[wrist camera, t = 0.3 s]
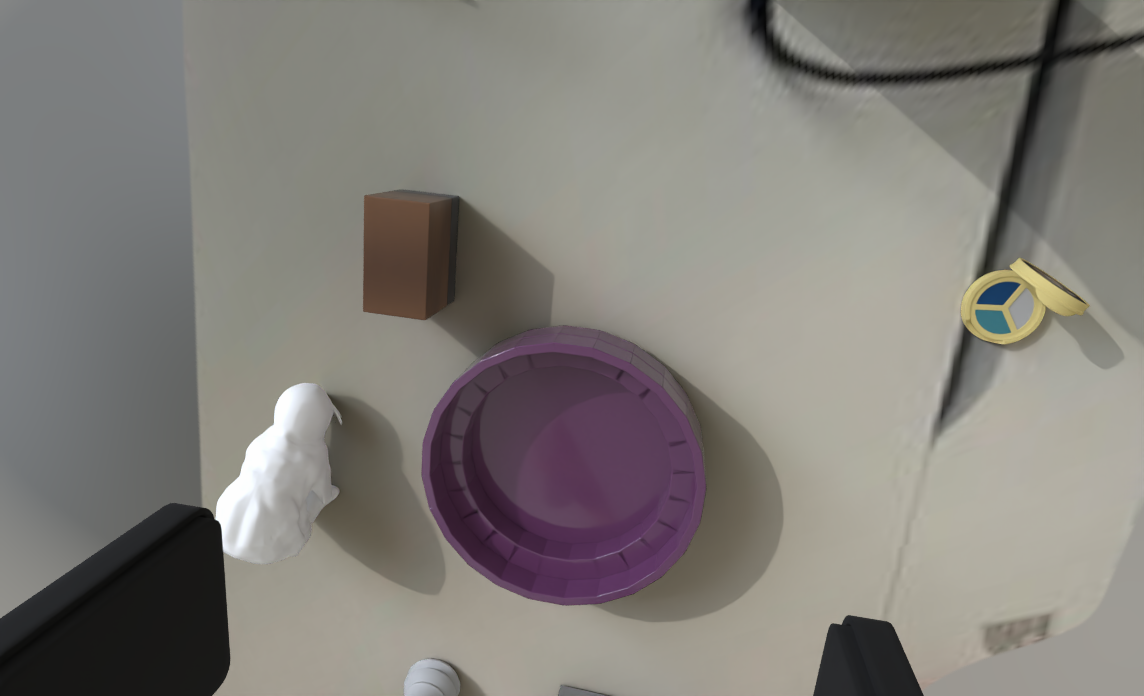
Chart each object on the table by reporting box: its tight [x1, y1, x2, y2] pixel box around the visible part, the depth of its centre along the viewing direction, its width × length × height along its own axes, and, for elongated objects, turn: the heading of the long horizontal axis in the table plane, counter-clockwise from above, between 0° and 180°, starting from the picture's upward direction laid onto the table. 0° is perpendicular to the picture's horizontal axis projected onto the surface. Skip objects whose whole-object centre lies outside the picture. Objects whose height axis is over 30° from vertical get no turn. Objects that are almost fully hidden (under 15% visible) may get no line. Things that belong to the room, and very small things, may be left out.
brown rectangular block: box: [363, 190, 459, 320], centre depth 44 cm, size 7×4×6 cm, turn 174°
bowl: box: [422, 326, 706, 605], centre depth 46 cm, size 18×18×5 cm
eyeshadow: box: [961, 258, 1090, 344], centre depth 39 cm, size 4×5×5 cm
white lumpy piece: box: [215, 383, 343, 564], centre depth 48 cm, size 6×8×12 cm
